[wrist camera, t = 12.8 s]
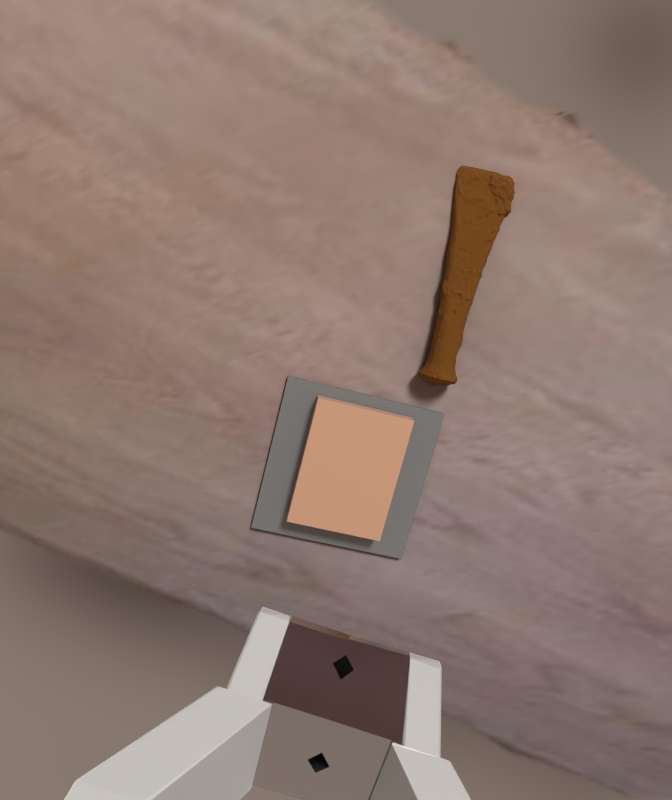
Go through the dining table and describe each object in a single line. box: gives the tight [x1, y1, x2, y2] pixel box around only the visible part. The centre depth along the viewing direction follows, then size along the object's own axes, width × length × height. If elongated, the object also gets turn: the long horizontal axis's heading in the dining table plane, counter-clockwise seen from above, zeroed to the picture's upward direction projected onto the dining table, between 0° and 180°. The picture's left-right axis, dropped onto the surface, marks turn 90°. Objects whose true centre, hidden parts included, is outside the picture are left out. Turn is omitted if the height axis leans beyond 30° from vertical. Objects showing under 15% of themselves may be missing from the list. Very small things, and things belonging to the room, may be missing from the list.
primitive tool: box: [418, 166, 515, 385], centre depth 52 cm, size 19×6×4 cm, turn 170°
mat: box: [251, 376, 444, 559], centre depth 55 cm, size 15×15×1 cm
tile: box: [287, 395, 414, 541], centre depth 54 cm, size 9×2×12 cm
